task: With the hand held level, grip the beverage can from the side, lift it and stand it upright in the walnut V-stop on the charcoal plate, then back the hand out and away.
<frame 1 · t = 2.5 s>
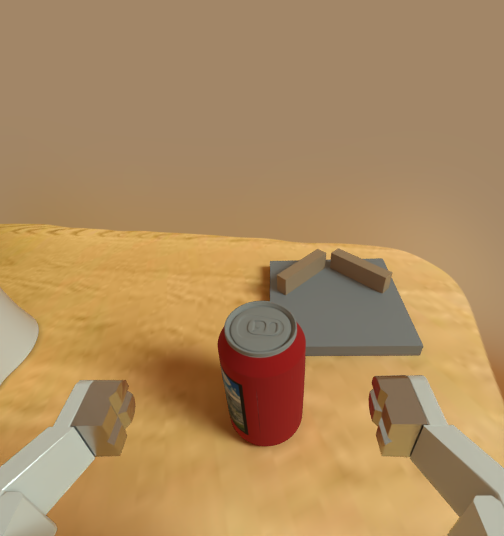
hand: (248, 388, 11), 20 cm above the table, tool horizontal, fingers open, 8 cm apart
v stop plate: (333, 305, 43), on the table
beverage can: (266, 415, 32), on the table
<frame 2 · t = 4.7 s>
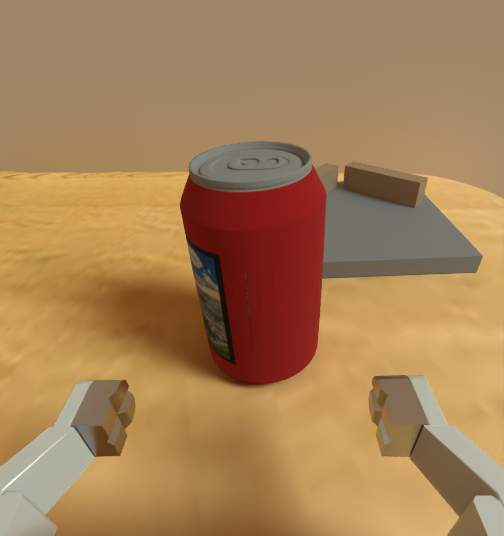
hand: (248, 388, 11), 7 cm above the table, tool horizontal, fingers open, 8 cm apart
v stop plate: (349, 227, 33), on the table
beverage can: (264, 348, 22), on the table
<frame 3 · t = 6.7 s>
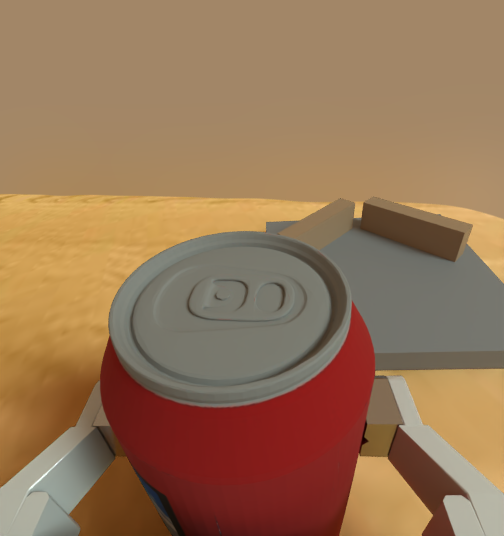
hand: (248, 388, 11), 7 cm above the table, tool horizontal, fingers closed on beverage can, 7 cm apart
v stop plate: (371, 283, 26), on the table
beverage can: (259, 506, 15), on the table, touching gripper
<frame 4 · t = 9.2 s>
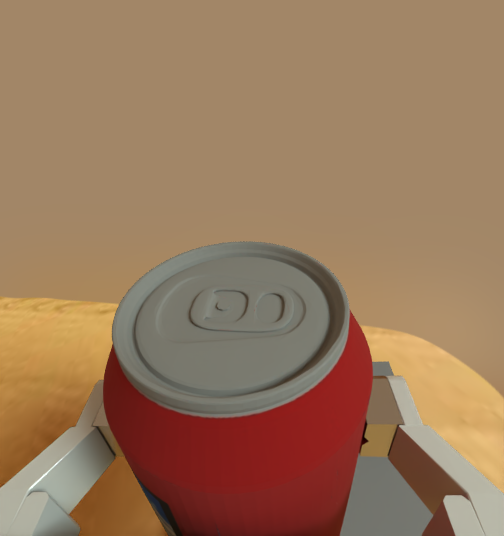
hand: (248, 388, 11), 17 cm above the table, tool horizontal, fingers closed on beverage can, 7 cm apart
v stop plate: (307, 466, 25), on the table
beverage can: (259, 512, 15), point 9 cm above the table, touching gripper
when the fingers open (10 cm above the table, at t = 11.9 s): beverage can stays where it is, resting on v stop plate.
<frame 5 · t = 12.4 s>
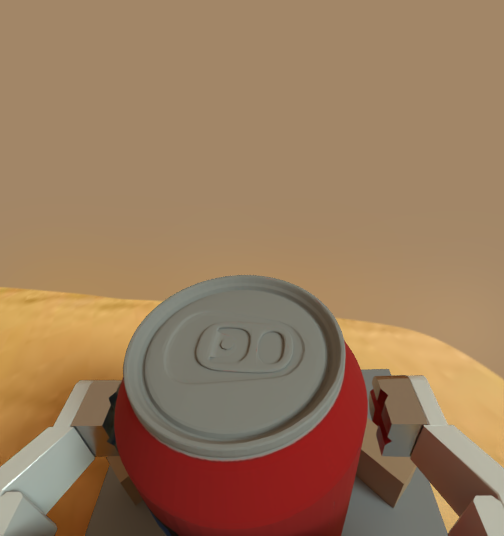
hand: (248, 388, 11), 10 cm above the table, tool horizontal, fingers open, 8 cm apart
v stop plate: (262, 528, 16), on the table
beverage can: (260, 523, 15), point 1 cm above the table, touching v stop plate
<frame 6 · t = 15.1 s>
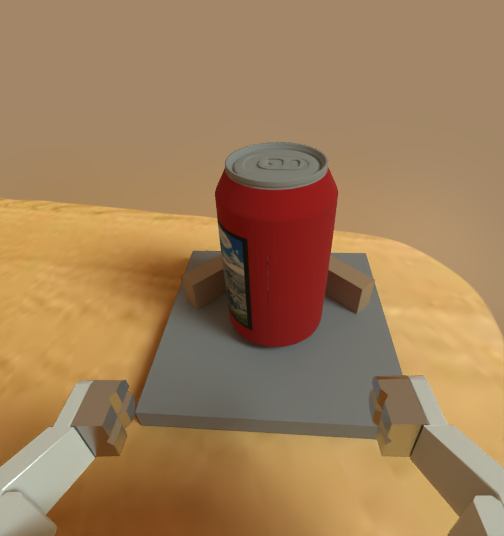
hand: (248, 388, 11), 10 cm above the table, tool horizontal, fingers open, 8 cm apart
v stop plate: (275, 329, 26), on the table
beverage can: (274, 319, 25), point 1 cm above the table, touching v stop plate
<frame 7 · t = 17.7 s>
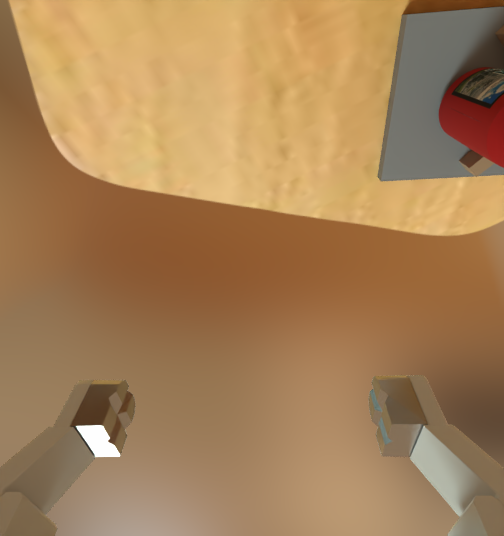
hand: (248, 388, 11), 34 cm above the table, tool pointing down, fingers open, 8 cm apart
v stop plate: (464, 100, 37), on the table
beverage can: (468, 102, 36), point 1 cm above the table, touching v stop plate
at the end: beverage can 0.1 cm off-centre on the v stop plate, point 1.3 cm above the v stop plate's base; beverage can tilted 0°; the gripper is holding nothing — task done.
